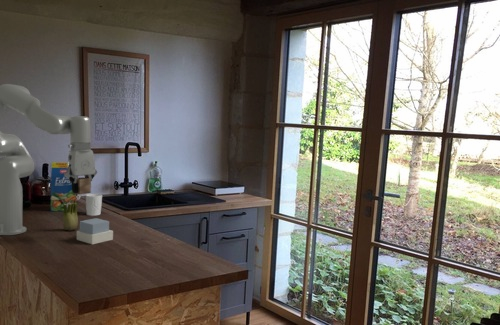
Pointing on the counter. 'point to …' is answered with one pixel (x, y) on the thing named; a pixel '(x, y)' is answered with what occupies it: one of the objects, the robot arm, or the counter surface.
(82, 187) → the walnut block
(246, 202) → the counter surface
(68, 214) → the fennel bulb
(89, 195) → the white cup
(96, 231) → the grey block
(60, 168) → the blue food package
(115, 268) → the counter surface
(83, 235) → the cream block
